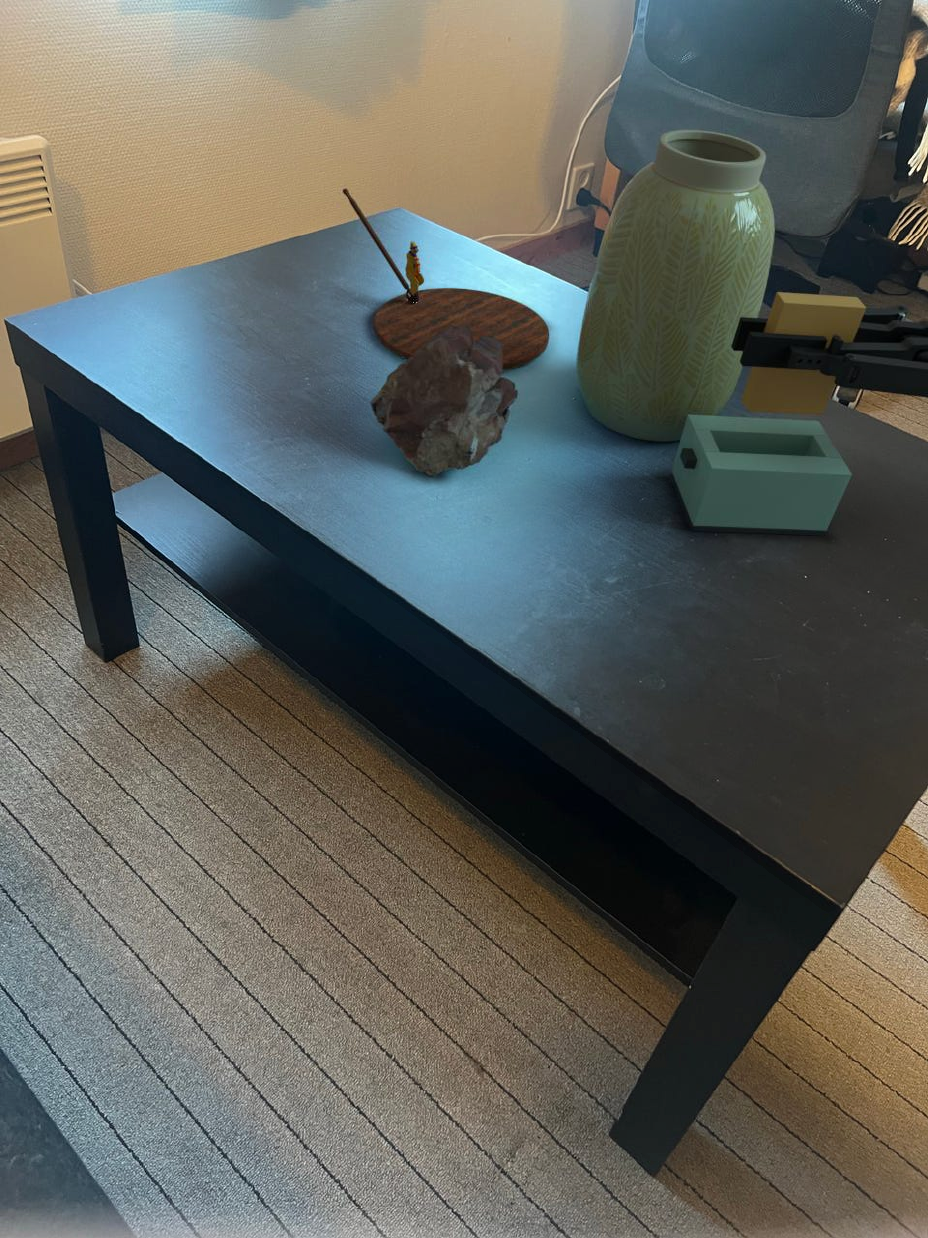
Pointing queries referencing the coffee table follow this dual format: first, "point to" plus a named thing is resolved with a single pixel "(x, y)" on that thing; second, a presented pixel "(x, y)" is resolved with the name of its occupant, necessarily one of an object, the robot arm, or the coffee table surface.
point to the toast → (801, 386)
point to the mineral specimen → (447, 401)
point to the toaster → (758, 475)
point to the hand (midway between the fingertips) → (741, 341)
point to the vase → (676, 286)
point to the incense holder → (453, 314)
